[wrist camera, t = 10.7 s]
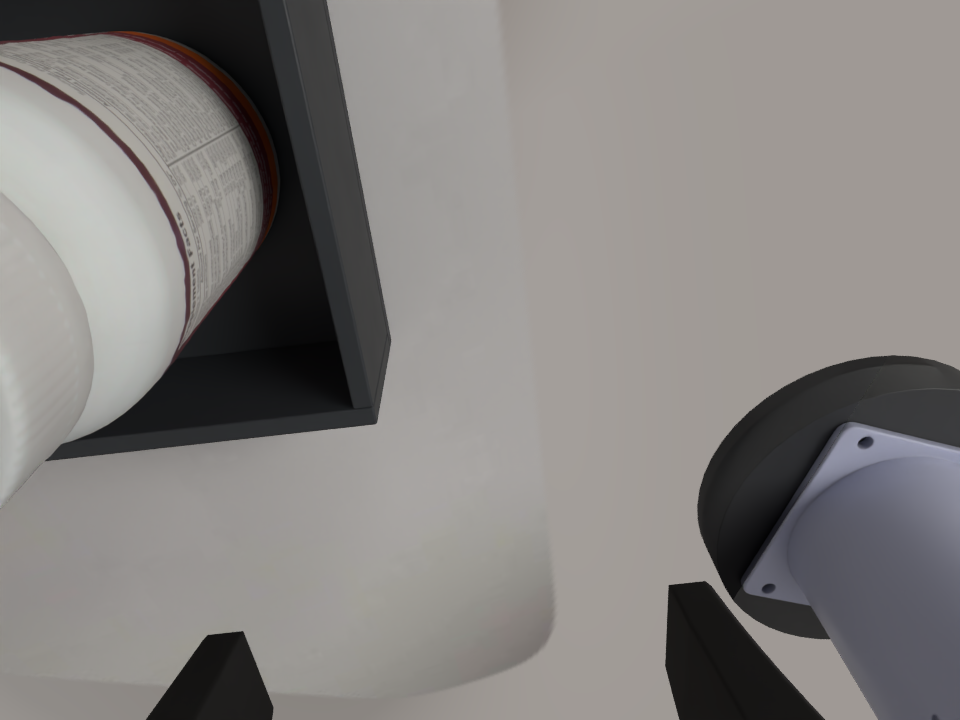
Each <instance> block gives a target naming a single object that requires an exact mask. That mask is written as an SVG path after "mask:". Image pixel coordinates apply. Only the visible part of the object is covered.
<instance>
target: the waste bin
mask: <svg viewBox="0 0 960 720" xmlns="http://www.w3.org/2000/svg"><path fill="white" fill-rule="evenodd" d="M114 31H135V32H142V33H148V34H153V35H157V36H161V37H165V38H168V39H171V40H174V41H176V42H179V43H181V44H183V45H186V46H188V47H190V48H192V49H194V50H196V51H198V52H199V53H201V54H203V55H204V56H206V57H207V58H209V59H210V60H211V61H213V62H214V63H215V64H217V65H218V66H219V67H220V68H222V69H223V70H224V71H226V72H227V73H228V74H229V75H230V76H231V77H232V78H233V79H234V80H235V81H236V82H237V83H238V84H239V85H240V86H241V87H242V89H243V90H244V91H245V92H246V93H247V95H248V96H249V97H250V98H251V100H252V101H253V103H254V104H255V106H256V108H257V109H258V111H259V112H260V114H261V116H262V118H263V119H264V121H265V124H266V126H267V128H268V130H269V132H270V134H271V137H272V140H273V143H274V147H275V150H276V154H277V159H278V165H279V174H280V192H279V200H278V206H277V211H276V214H275V217H274V220H273V223H272V226H271V228H270V230H269V232H268V234H267V236H266V238H265V239H264V241H263V242H262V244H261V245H260V247H259V248H258V250H257V251H256V252H255V254H254V255H253V257H252V258H251V260H250V261H249V262H248V264H247V265H246V266H245V268H244V269H243V270H242V272H241V273H240V274H239V276H238V277H237V279H236V280H235V281H234V282H233V283H232V285H231V286H230V288H229V289H228V290H227V291H226V292H225V293H224V295H223V296H222V297H221V299H220V300H219V301H218V302H217V304H216V305H215V306H214V307H213V309H212V310H211V311H210V313H209V314H208V315H207V317H206V318H205V319H204V320H203V322H202V323H201V324H200V326H199V327H198V329H197V330H196V331H195V333H194V334H193V335H192V337H191V339H190V340H189V341H188V343H187V344H186V345H185V347H184V348H183V350H182V351H181V352H180V354H179V356H178V357H177V359H176V360H175V362H174V363H173V364H171V365H170V367H169V368H168V370H167V371H166V372H165V374H164V375H163V376H162V377H161V378H160V379H159V380H158V381H157V382H156V383H155V384H154V386H153V387H152V388H151V389H150V390H149V391H148V392H147V393H146V394H145V395H144V396H143V397H142V398H141V399H140V400H139V401H138V402H137V403H136V404H135V405H134V406H132V407H131V408H130V409H129V410H128V411H127V412H125V413H124V414H123V415H121V416H120V417H118V418H117V419H116V420H114V421H113V422H111V423H110V424H108V425H106V426H104V427H102V428H101V429H99V430H97V431H95V432H93V433H91V434H88V435H86V436H83V437H81V438H78V439H76V440H73V441H70V442H67V443H63V444H61V445H60V446H59V447H58V448H57V449H56V450H55V451H54V453H53V454H52V455H51V456H50V457H49V458H48V459H46V460H45V461H51V460H59V459H68V458H77V457H86V456H95V455H104V454H113V453H122V452H131V451H140V450H149V449H158V448H167V447H176V446H185V445H194V444H203V443H212V442H221V441H230V440H239V439H248V438H256V437H265V436H274V435H283V434H292V433H301V432H310V431H319V430H328V429H337V428H346V427H355V426H364V425H373V424H376V423H377V420H378V414H379V408H380V403H381V397H382V391H383V385H384V380H385V374H386V368H387V362H388V357H389V351H390V345H391V337H390V332H389V326H388V321H387V316H386V311H385V305H384V300H383V295H382V290H381V284H380V279H379V274H378V269H377V263H376V258H375V253H374V248H373V242H372V237H371V232H370V227H369V221H368V216H367V211H366V206H365V201H364V195H363V190H362V185H361V180H360V174H359V169H358V164H357V159H356V153H355V148H354V143H353V138H352V132H351V127H350V122H349V117H348V111H347V106H346V101H345V96H344V90H343V85H342V80H341V75H340V69H339V64H338V59H337V54H336V48H335V43H334V38H333V33H332V27H331V22H330V17H329V12H328V6H327V1H326V0H0V41H10V40H15V41H19V40H29V39H39V38H49V37H52V36H67V35H77V34H89V33H101V32H114Z"/></svg>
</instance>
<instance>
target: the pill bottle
mask: <svg viewBox="0 0 960 720" xmlns="http://www.w3.org/2000/svg"><path fill="white" fill-rule="evenodd" d="M279 192H280V174H279V165H278V159H277V154H276V150H275V147H274V143H273V140H272V137H271V134H270V132H269V130H268V128H267V126H266V124H265V121H264V119H263V118H262V116H261V114H260V112H259V111H258V109H257V108H256V106H255V104H254V103H253V101H252V100H251V98H250V97H249V96H248V95H247V93H246V92H245V91H244V90H243V89H242V87H241V86H240V85H239V84H238V83H237V82H236V81H235V80H234V79H233V78H232V77H231V76H230V75H229V74H228V73H227V72H226V71H224V70H223V69H222V68H220V67H219V66H218V65H217V64H215V63H214V62H213V61H211V60H210V59H209V58H207V57H206V56H204V55H203V54H201V53H199V52H198V51H196V50H194V49H192V48H190V47H188V46H186V45H183V44H181V43H179V42H176V41H174V40H171V39H168V38H165V37H161V36H157V35H153V34H148V33H142V32H135V31H114V32H101V33H89V34H77V35H67V36H52V37H49V38H39V39H29V40H19V41H15V40H10V41H0V509H1V508H2V507H3V506H4V504H5V503H6V502H7V501H8V500H9V499H10V498H11V497H12V496H13V495H14V494H15V492H16V491H17V490H18V489H19V488H20V487H21V486H22V485H23V484H24V483H25V482H26V480H27V479H28V478H29V477H30V476H31V475H32V474H33V472H34V471H35V470H36V469H37V468H38V467H39V466H40V465H41V464H42V463H43V462H44V461H45V460H46V459H48V458H49V457H50V456H51V455H52V454H53V453H54V451H55V450H56V449H57V448H58V447H59V446H60V445H61V444H63V443H67V442H70V441H73V440H76V439H78V438H81V437H83V436H86V435H88V434H91V433H93V432H95V431H97V430H99V429H101V428H102V427H104V426H106V425H108V424H110V423H111V422H113V421H114V420H116V419H117V418H118V417H120V416H121V415H123V414H124V413H125V412H127V411H128V410H129V409H130V408H131V407H132V406H134V405H135V404H136V403H137V402H138V401H139V400H140V399H141V398H142V397H143V396H144V395H145V394H146V393H147V392H148V391H149V390H150V389H151V388H152V387H153V386H154V384H155V383H156V382H157V381H158V380H159V379H160V378H161V377H162V376H163V375H164V374H165V372H166V371H167V370H168V368H169V367H170V365H171V364H173V363H174V362H175V360H176V359H177V357H178V356H179V354H180V352H181V351H182V350H183V348H184V347H185V345H186V344H187V343H188V341H189V340H190V339H191V337H192V335H193V334H194V333H195V331H196V330H197V329H198V327H199V326H200V324H201V323H202V322H203V320H204V319H205V318H206V317H207V315H208V314H209V313H210V311H211V310H212V309H213V307H214V306H215V305H216V304H217V302H218V301H219V300H220V299H221V297H222V296H223V295H224V293H225V292H226V291H227V290H228V289H229V288H230V286H231V285H232V283H233V282H234V281H235V280H236V279H237V277H238V276H239V274H240V273H241V272H242V270H243V269H244V268H245V266H246V265H247V264H248V262H249V261H250V260H251V258H252V257H253V255H254V254H255V252H256V251H257V250H258V248H259V247H260V245H261V244H262V242H263V241H264V239H265V238H266V236H267V234H268V232H269V230H270V228H271V226H272V223H273V220H274V217H275V214H276V211H277V206H278V200H279Z"/></svg>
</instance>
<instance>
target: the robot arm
mask: <svg viewBox="0 0 960 720" xmlns="http://www.w3.org/2000/svg"><path fill="white" fill-rule="evenodd" d="M864 437H866V438H865V439H864V440H863V441H862V442H859V441H860V440H861V439H862V438H864ZM858 442H859V443H858ZM766 584H767V585H766ZM741 585H742V587H743V589H744V591H745V592H746V593H748V594H751V595H756V596H761V597H767V598H772V599H777V600H782V601H788V602H793V603H798V604H803V605H809V606H811V607H812V609H813V610H814V612H815V614H816V615H817V617H818V619H819V621H820V622H821V624H822V626H823V627H824V629H825V631H826V632H827V634H828V636H829V637H830V639H831V641H832V642H833V644H834V646H835V647H836V649H837V651H838V653H839V654H840V656H841V658H842V659H843V661H844V663H845V664H846V666H847V668H848V669H849V671H850V673H851V675H852V676H853V678H854V680H855V681H856V683H857V685H858V686H859V688H860V690H861V691H862V693H863V695H864V697H865V698H866V700H867V702H868V703H869V705H870V707H871V708H872V710H873V711H874V713H875V715H876V717H877V718H878V720H960V448H959V447H955V446H951V445H947V444H942V443H938V442H934V441H930V440H926V439H922V438H918V437H914V436H910V435H905V434H901V433H897V432H893V431H889V430H885V429H881V428H877V427H873V426H868V425H864V424H860V423H856V422H847V423H844V424H842V425H840V426H839V427H838V428H837V429H836V430H835V431H834V432H833V434H832V436H831V437H830V439H829V440H828V442H827V444H826V445H825V447H824V448H823V450H822V451H821V453H820V455H819V456H818V458H817V459H816V461H815V462H814V464H813V466H812V467H811V469H810V470H809V472H808V474H807V475H806V477H805V478H804V480H803V481H802V483H801V485H800V486H799V488H798V489H797V491H796V492H795V494H794V496H793V497H792V499H791V500H790V502H789V504H788V505H787V507H786V508H785V510H784V511H783V513H782V515H781V516H780V518H779V519H778V521H777V523H776V524H775V526H774V527H773V529H772V530H771V532H770V534H769V535H768V537H767V538H766V540H765V541H764V543H763V545H762V546H761V548H760V549H759V551H758V553H757V554H756V556H755V557H754V559H753V560H752V562H751V564H750V565H749V567H748V568H747V570H746V571H745V573H744V575H743V576H742V578H741ZM764 585H765V586H764ZM665 666H666V670H667V674H668V678H669V682H670V686H671V690H672V694H673V697H674V701H675V705H676V709H677V712H678V716H679V719H680V720H825V719H824V718H823V717H822V716H821V715H820V714H819V713H818V712H817V711H816V709H815V708H814V707H813V706H812V705H811V704H810V703H809V702H808V701H807V700H806V699H805V698H804V696H803V695H802V694H801V693H800V692H799V691H798V690H797V689H796V688H795V686H794V685H793V684H792V683H791V682H790V681H789V680H788V679H787V678H786V677H785V676H784V674H782V672H781V671H780V670H779V669H778V668H777V666H776V665H775V664H774V663H773V662H772V661H771V660H770V658H769V657H768V656H767V655H766V654H765V653H764V651H763V650H762V649H761V648H760V647H759V646H758V644H757V643H756V642H755V641H754V639H753V638H752V637H751V636H750V635H749V634H748V632H747V631H746V630H745V629H744V627H743V626H742V625H741V624H740V623H739V621H738V620H737V619H736V617H735V616H734V615H733V614H732V612H731V611H730V610H729V609H728V607H727V606H726V605H725V603H724V602H723V601H722V599H721V598H720V597H719V596H718V594H717V593H716V592H715V590H714V589H713V588H712V586H711V585H709V584H708V583H707V582H705V581H703V582H694V583H684V584H675V585H669V591H668V615H667V640H666V664H665ZM272 715H273V705H272V703H271V700H270V698H269V695H268V693H267V690H266V688H265V685H264V683H263V680H262V678H261V675H260V673H259V670H258V667H257V665H256V662H255V660H254V657H253V655H252V652H251V650H250V647H249V645H248V642H247V640H246V637H245V635H244V632H243V631H241V632H232V633H223V634H213V635H207V636H206V638H205V639H204V640H203V641H202V642H201V644H200V645H199V647H198V648H197V649H196V651H195V652H194V654H193V655H192V656H191V658H190V659H189V660H188V662H187V663H186V665H185V666H184V667H183V669H182V670H181V672H180V673H179V674H178V676H177V677H176V679H175V680H174V681H173V683H172V684H171V686H170V687H169V688H168V690H167V691H166V693H165V694H164V695H163V697H162V698H161V700H160V701H159V702H158V704H157V705H156V707H155V708H154V709H153V711H152V712H151V713H150V715H149V716H148V718H147V719H146V720H272Z"/></svg>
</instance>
